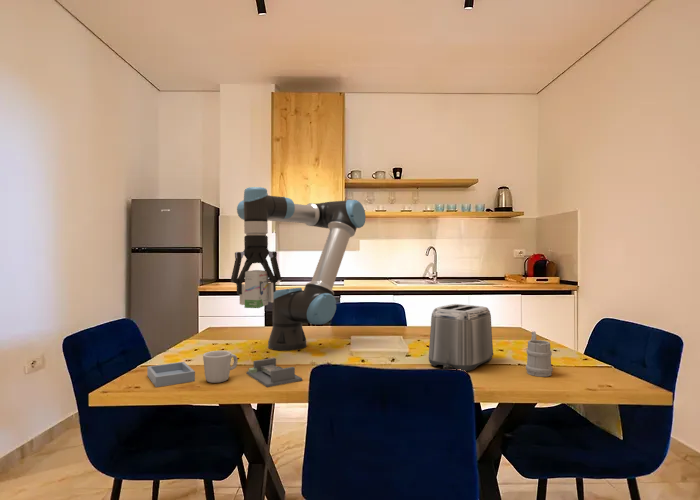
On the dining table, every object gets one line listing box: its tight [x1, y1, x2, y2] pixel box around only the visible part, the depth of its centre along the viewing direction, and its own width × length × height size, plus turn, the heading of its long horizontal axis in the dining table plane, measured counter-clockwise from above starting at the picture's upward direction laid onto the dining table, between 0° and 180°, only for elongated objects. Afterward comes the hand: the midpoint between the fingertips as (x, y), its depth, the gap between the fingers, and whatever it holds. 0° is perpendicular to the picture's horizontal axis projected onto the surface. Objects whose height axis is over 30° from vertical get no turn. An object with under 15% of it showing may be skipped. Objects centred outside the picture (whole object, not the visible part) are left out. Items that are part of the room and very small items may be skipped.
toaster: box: [428, 303, 494, 372], centre depth 148 cm, size 17×30×19 cm, turn 140°
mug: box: [525, 330, 554, 378], centre depth 138 cm, size 8×12×12 cm, turn 172°
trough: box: [146, 361, 196, 388], centre depth 131 cm, size 11×14×3 cm
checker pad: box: [261, 364, 282, 376], centre depth 132 cm, size 4×10×1 cm, turn 34°
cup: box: [202, 350, 238, 384], centre depth 130 cm, size 11×8×8 cm
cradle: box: [246, 357, 303, 388], centre depth 132 cm, size 11×16×4 cm
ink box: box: [244, 269, 269, 309], centre depth 144 cm, size 9×5×12 cm, turn 169°
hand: (256, 303), depth 144 cm, fingers closed on ink box, 9 cm apart
